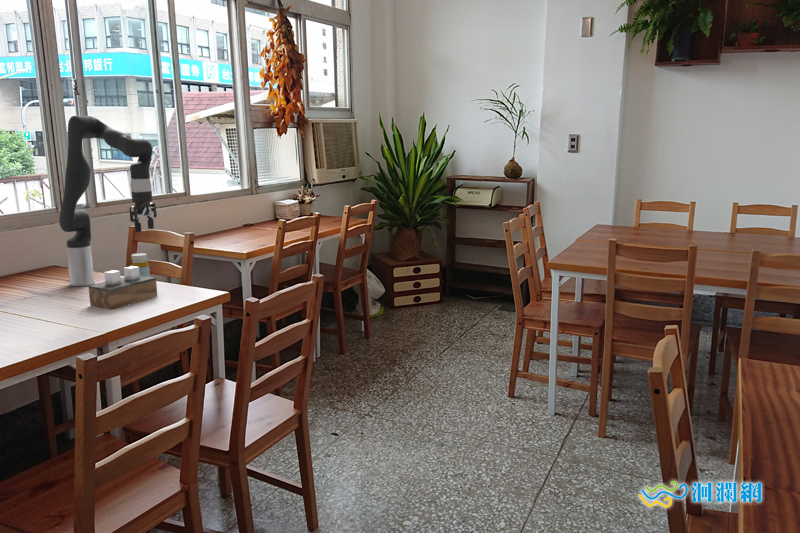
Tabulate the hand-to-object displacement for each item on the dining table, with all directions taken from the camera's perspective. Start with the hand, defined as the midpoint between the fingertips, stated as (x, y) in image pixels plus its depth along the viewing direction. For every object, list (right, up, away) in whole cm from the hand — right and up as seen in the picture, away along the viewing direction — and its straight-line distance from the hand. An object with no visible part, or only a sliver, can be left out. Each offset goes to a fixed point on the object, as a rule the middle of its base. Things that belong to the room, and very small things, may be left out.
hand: (144, 230), depth 241 cm
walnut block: (-8, -28, -1) cm, 30 cm away
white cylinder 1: (-10, -24, -6) cm, 27 cm away
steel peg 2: (-6, -23, +2) cm, 24 cm away
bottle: (-10, -24, +20) cm, 33 cm away
